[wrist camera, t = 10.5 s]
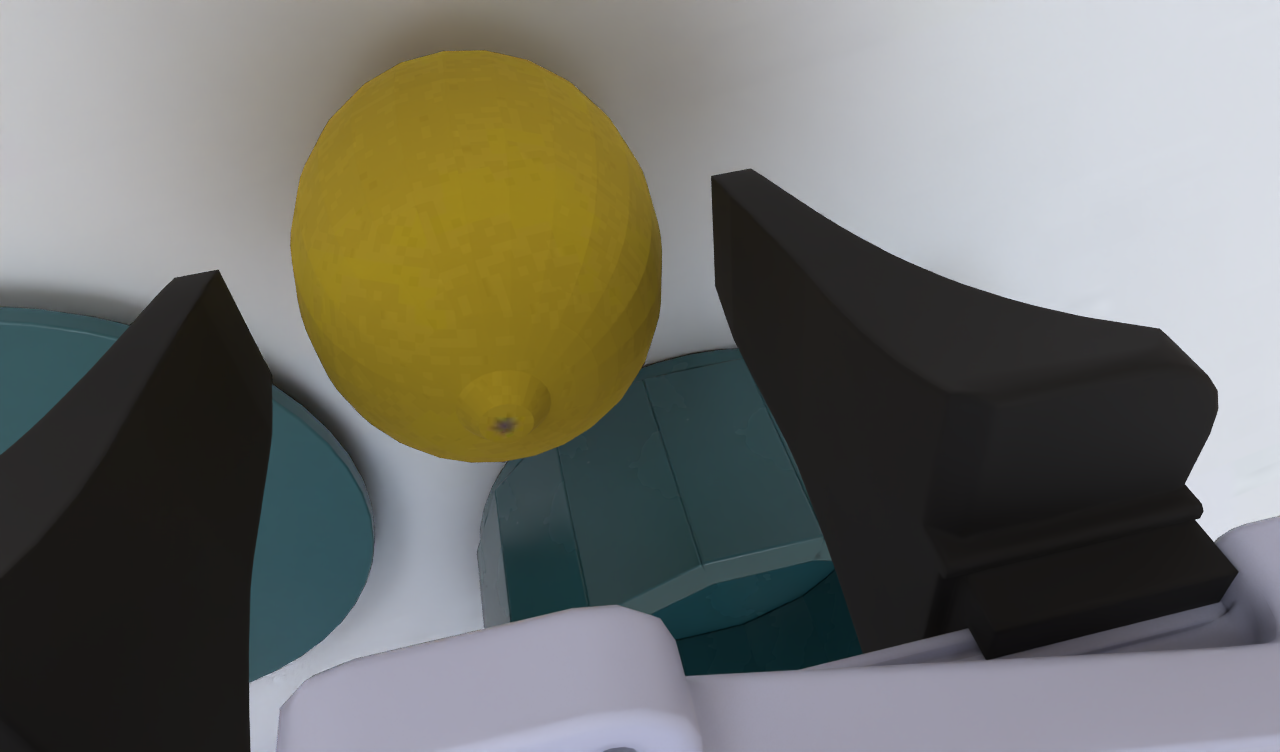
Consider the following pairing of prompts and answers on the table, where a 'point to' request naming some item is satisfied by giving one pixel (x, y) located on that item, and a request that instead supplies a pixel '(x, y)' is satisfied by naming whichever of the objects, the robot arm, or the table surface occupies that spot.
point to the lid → (293, 496)
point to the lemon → (476, 257)
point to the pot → (673, 526)
